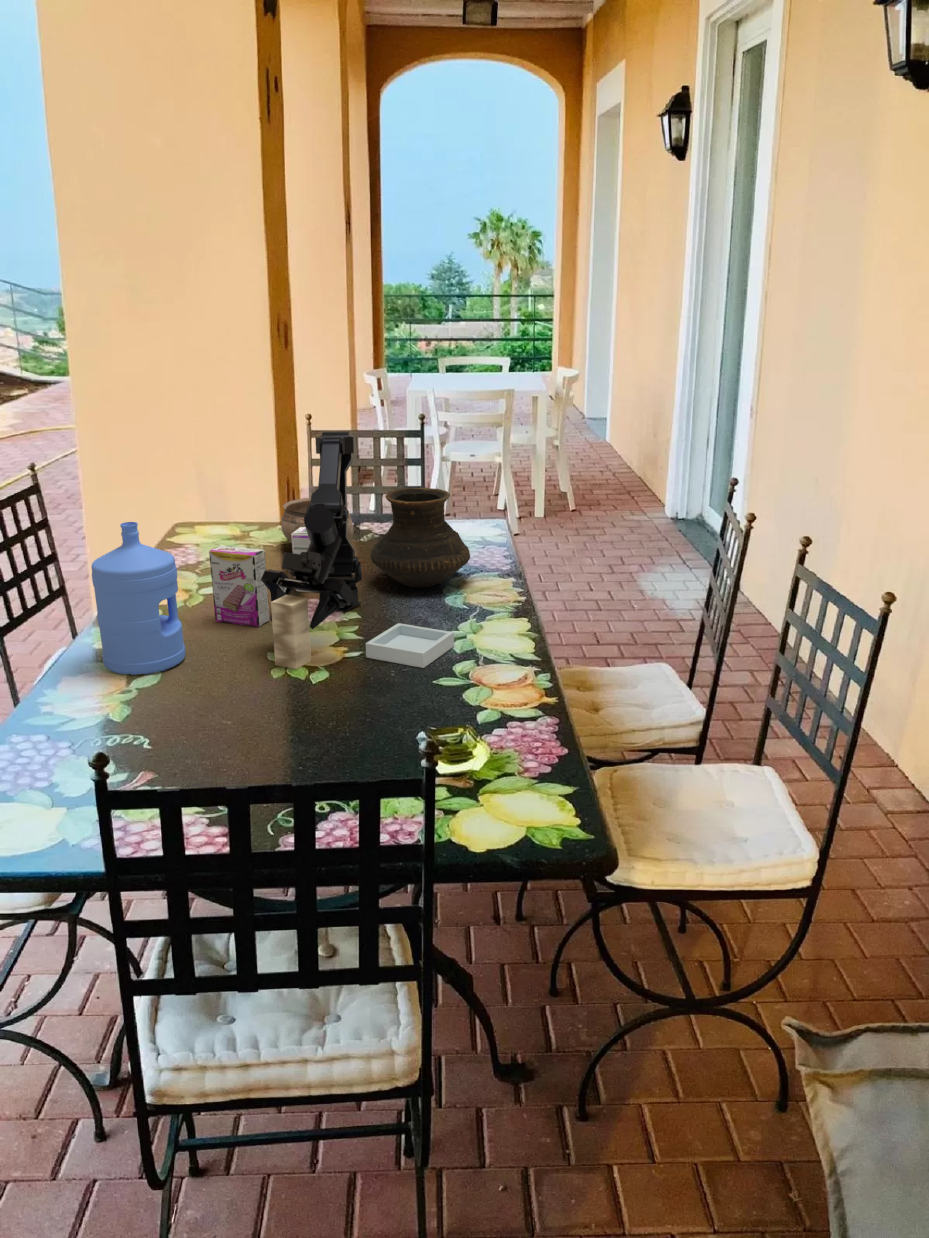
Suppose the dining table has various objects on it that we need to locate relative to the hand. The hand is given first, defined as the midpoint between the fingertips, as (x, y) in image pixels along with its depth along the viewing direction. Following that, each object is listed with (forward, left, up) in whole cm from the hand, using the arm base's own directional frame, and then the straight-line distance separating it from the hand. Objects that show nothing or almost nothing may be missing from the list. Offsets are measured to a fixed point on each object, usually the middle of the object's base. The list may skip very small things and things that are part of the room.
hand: (291, 624), depth 203 cm
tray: (+18, +15, -8) cm, 25 cm away
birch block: (0, 0, -8) cm, 8 cm away
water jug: (-27, -12, -8) cm, 31 cm away
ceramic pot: (-2, +56, -8) cm, 57 cm away
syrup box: (-24, +41, -8) cm, 48 cm away
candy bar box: (-24, +15, -8) cm, 30 cm away
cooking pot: (-42, +71, -8) cm, 83 cm away
